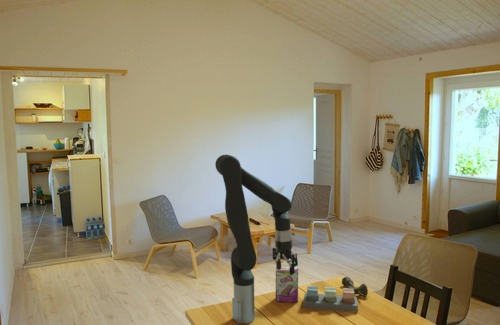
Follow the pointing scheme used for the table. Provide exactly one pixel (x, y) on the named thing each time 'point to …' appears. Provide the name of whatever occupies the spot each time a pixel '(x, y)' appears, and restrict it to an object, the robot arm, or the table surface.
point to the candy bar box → (286, 285)
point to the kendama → (357, 290)
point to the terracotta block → (348, 295)
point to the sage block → (330, 294)
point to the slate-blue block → (312, 293)
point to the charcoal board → (330, 304)
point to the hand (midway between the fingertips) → (285, 271)
